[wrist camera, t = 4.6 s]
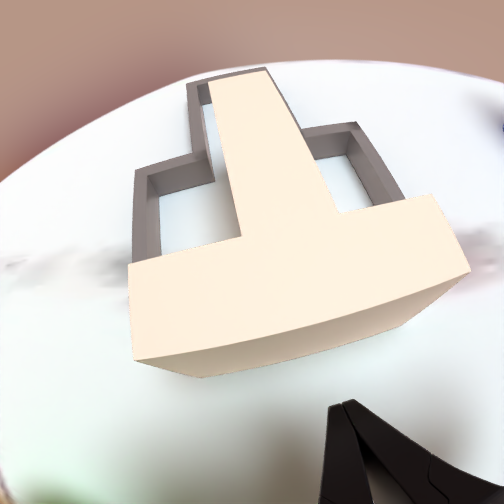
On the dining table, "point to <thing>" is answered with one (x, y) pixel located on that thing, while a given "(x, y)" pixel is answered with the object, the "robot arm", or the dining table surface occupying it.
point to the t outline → (201, 172)
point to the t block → (285, 257)
